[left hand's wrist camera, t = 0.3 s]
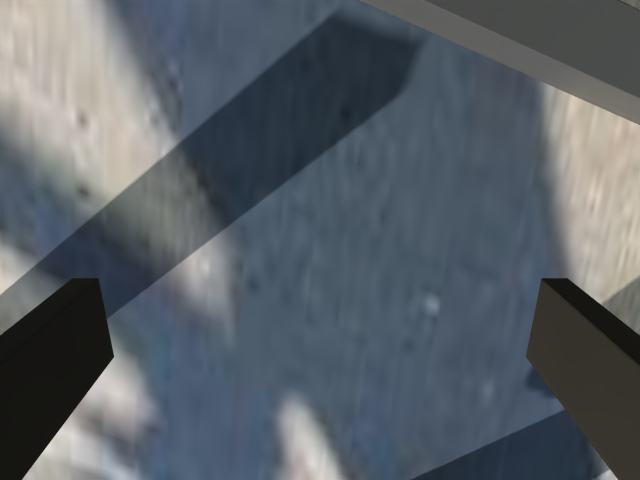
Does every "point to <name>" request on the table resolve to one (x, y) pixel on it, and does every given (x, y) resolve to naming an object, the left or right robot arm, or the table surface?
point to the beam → (545, 41)
